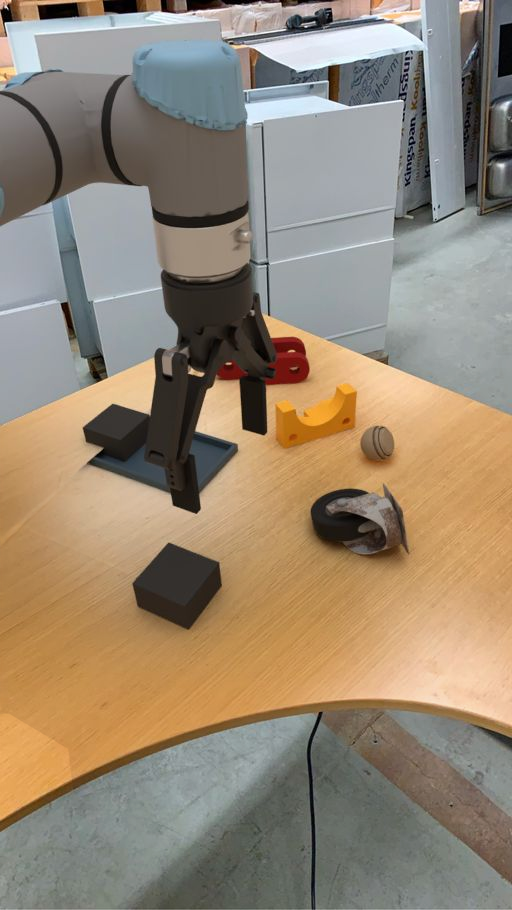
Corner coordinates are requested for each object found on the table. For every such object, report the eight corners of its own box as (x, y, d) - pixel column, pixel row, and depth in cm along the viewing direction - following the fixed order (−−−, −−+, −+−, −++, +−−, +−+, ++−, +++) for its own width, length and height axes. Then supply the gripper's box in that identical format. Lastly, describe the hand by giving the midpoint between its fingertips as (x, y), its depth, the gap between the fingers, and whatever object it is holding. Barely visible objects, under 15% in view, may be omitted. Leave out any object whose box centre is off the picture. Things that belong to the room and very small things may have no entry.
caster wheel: (310, 527, 87) (382, 507, 87) (332, 578, 76) (414, 554, 77) (300, 485, 84) (374, 463, 84) (322, 532, 73) (406, 507, 74)
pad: (87, 449, 97) (82, 427, 95) (117, 424, 102) (112, 403, 100) (124, 462, 94) (120, 440, 92) (153, 436, 99) (149, 414, 97)
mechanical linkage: (304, 361, 116) (305, 335, 113) (309, 382, 110) (309, 356, 107) (215, 366, 116) (212, 341, 113) (215, 388, 110) (212, 362, 107)
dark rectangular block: (137, 606, 74) (131, 583, 72) (172, 565, 79) (168, 542, 77) (188, 629, 71) (184, 606, 69) (222, 585, 76) (219, 562, 74)
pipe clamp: (340, 412, 103) (341, 377, 99) (354, 427, 100) (356, 391, 96) (271, 433, 99) (270, 397, 95) (283, 448, 96) (283, 412, 92)
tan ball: (369, 471, 91) (371, 443, 88) (353, 451, 95) (355, 423, 92) (400, 463, 92) (404, 434, 89) (384, 443, 96) (387, 415, 93)
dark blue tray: (72, 460, 96) (70, 451, 95) (123, 417, 104) (122, 408, 103) (192, 503, 88) (191, 494, 87) (238, 453, 96) (237, 443, 95)
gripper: (155, 341, 43) (187, 560, 57) (311, 222, 60) (308, 412, 74) (68, 320, 46) (118, 533, 59) (240, 212, 63) (249, 396, 76)
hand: (223, 466), depth 67 cm, fingers open, 13 cm apart
